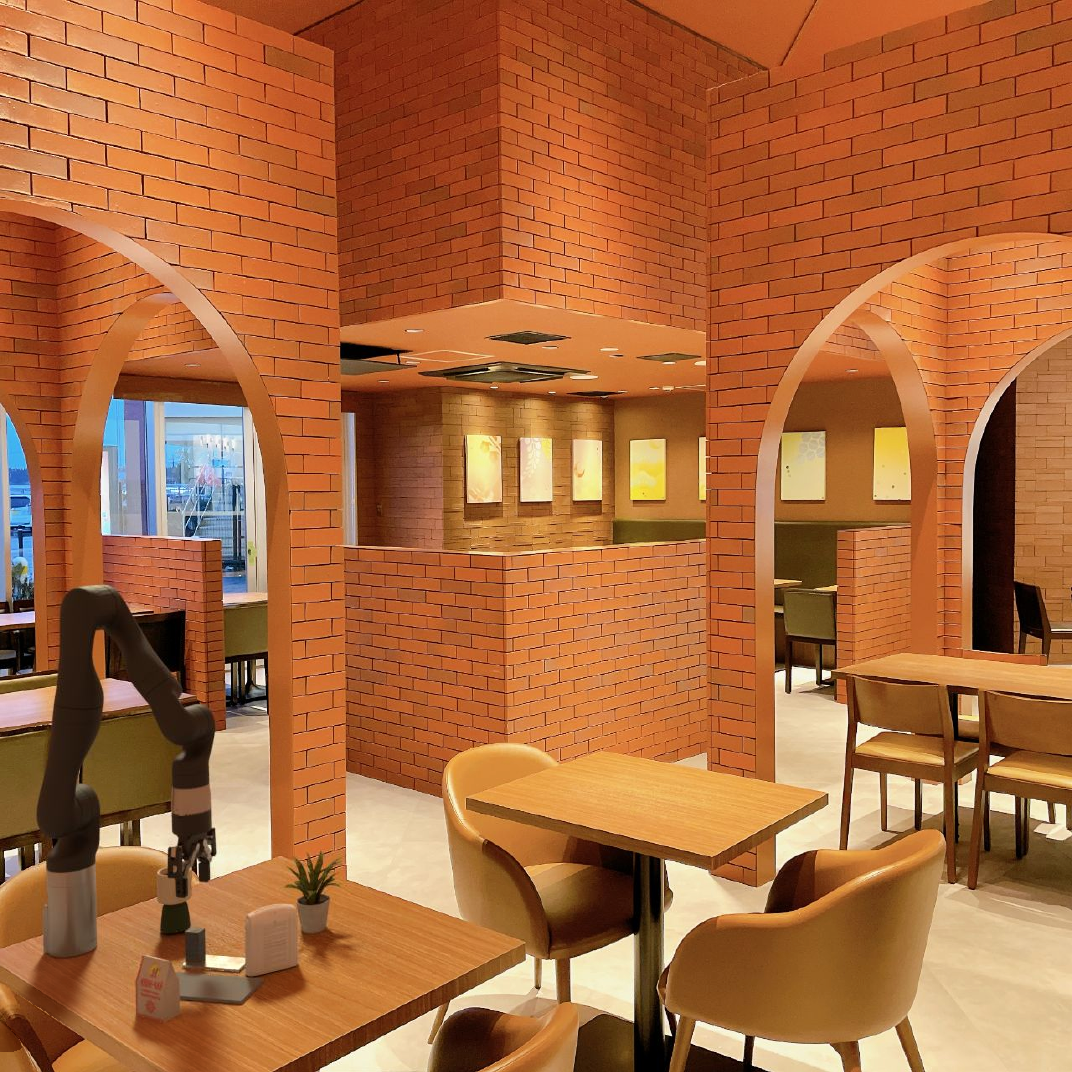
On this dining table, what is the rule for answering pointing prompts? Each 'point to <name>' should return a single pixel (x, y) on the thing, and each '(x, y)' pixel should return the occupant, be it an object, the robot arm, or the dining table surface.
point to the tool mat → (216, 987)
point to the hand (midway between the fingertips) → (193, 889)
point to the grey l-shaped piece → (200, 960)
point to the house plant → (313, 894)
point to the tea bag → (157, 989)
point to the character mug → (173, 903)
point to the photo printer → (271, 939)
